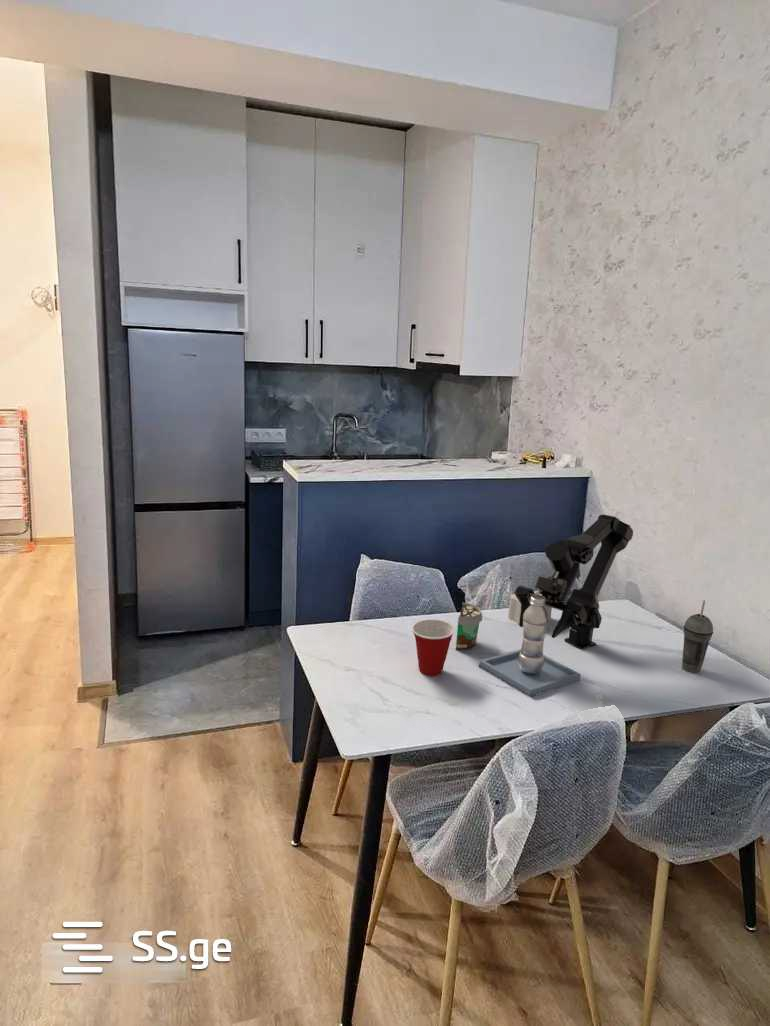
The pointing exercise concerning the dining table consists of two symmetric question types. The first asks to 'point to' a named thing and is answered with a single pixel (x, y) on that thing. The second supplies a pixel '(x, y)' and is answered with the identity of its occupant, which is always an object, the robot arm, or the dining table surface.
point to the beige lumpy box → (516, 608)
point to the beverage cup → (696, 641)
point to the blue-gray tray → (529, 683)
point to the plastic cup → (432, 644)
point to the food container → (468, 626)
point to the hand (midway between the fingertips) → (536, 631)
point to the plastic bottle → (533, 636)
